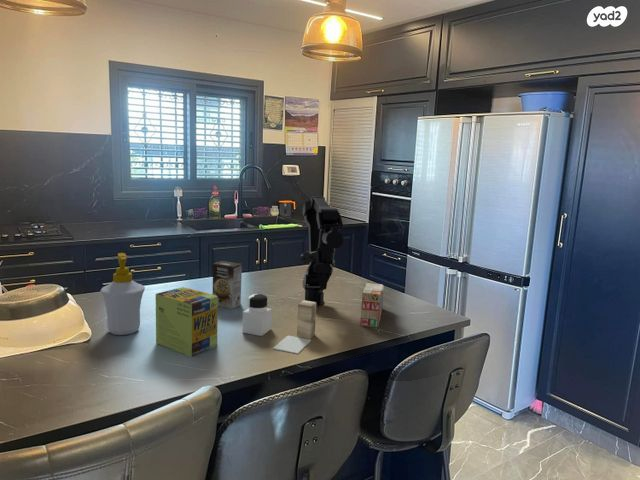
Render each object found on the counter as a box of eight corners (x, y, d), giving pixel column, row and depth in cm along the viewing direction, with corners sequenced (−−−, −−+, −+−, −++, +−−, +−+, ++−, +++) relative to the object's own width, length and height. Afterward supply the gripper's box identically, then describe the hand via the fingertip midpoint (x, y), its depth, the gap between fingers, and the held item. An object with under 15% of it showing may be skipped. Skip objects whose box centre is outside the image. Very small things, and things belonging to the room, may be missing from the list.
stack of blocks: (366, 307, 184) (368, 276, 182) (382, 308, 183) (384, 278, 180) (360, 326, 163) (362, 291, 161) (378, 328, 162) (380, 293, 160)
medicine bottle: (271, 329, 156) (272, 294, 154) (262, 336, 149) (263, 300, 147) (252, 325, 158) (253, 291, 156) (242, 332, 152) (242, 297, 149)
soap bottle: (103, 341, 140) (100, 260, 135) (100, 326, 151) (98, 251, 146) (148, 335, 146) (146, 257, 141) (142, 321, 157) (141, 249, 152)
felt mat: (287, 336, 151) (287, 335, 151) (311, 340, 148) (311, 339, 148) (272, 348, 140) (273, 348, 140) (297, 354, 138) (297, 353, 138)
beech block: (302, 332, 154) (303, 300, 152) (314, 334, 153) (316, 302, 151) (296, 337, 150) (298, 304, 148) (309, 339, 149) (311, 306, 147)
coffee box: (211, 305, 177) (211, 263, 174) (221, 300, 182) (221, 260, 180) (232, 309, 173) (233, 266, 170) (241, 304, 179) (242, 263, 176)
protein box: (191, 357, 132) (191, 304, 130) (155, 343, 140) (154, 293, 137) (218, 345, 141) (218, 295, 138) (182, 333, 149) (182, 285, 146)
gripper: (306, 240, 172) (302, 282, 173) (300, 244, 154) (295, 292, 155) (336, 243, 171) (332, 286, 173) (334, 248, 153) (329, 295, 154)
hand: (322, 289), depth 164 cm, fingers closed
